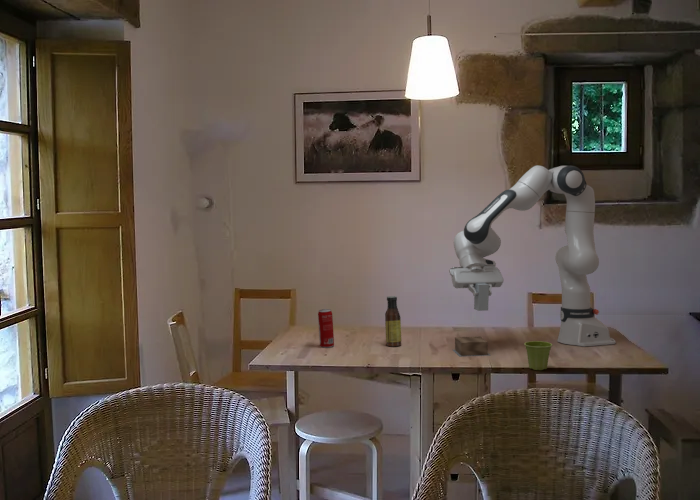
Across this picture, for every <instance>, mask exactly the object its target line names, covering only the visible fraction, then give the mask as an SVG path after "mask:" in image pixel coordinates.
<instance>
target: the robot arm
mask: <svg viewBox="0 0 700 500" xmlns="http://www.w3.org/2000/svg"><path fill="white" fill-rule="evenodd" d="M546 192H549V193H552V194H561V195H564V196H565V199H566V200H565V201H566V208H565V219H564V233H565V234H566V240H567V245H565V246H562V247H560V248H559V249H558V250H557V251H556V252H555V262H556V265H557V267H558V275H559V277H560V284H561V306H560V314H559V317H560V327H559V333H558V337H557V340H556V341H557V342H558V343H561V344H565V345H571V346H578V347H593V346H595V347H596V346H605V345H607V346H608V345H615V344H616V340H615V339H614V338H613V337H610V335H611V334H610V329H609V328H608V326H607V325H606V324H604V322H602V321H600V320H599V319H598V318H597V317H595V316H598V315H599V309H596V308H595V309H594V308H593V307H591V286H590V285H589V282H588V278H587V275H590V274H593V273H594V272H596V271H597V270H598V269H599V265H600V258H599V256H598V254H597V250H596V246H595V245H596V243H595V236H594V233H595V232H594V226H595V225H594V224H595V215H596V198H595V190H594V187H592V186H590V185H588V184H587V182H586V177H585V175H584V173H583V171H582V170H581V169H580V168H579V167H577V166H575V165H560V166H556V167H555V166H554V167H550V168H546V166H543V165H537V164H536V165H533V166H532V167H530V169H529V170H527V171H526V172H525V173H524V174H523V175H522V176H521V177H520V178H519V179H518V181H516V183H515V184H514V185H513V186H512V187H510V188H509V189H505V190H504V191H502V192H501V193H499V195H497V196H496V197H495V198H494V199H493V200H492V201H491V202H489V204H488V205H487V206H485V208H483V209H482V210H481V211H480V212H479V213H478V214H476V215H475V216H474V217H472V218H471V219H469V220H468V221H466V224H465V226H464V228H463V230H462V231H459V232H458V233H457V234H456V235H455V236H454V238H453V248H454V252H455V254H456V257H457V259H458V261H459V266H452V267H451V268H450V269H449V270H448V271H449V275H450V276H451V283H452V287H454V289H467V290H468V291H469V292H471V293H472V294H473V297H474V296H478V295H479V293H478V290H475V284H480V283H486V284H489V297H490V296H492V294H493V293H492V288H500V287H502V286H503V283H504V277H503V274H502V272H501V270H500V268H498V267H497V263H496V261H494V260H492V259H491V260H490V259H487V258H485V257H489V256H491V255H493V254H495V253H497V252H498V250H499V248H500V247H501V243H502V240H501V238H500V236H499V235H498V234H497V232H496V231H495V230H494V229H493V228H492V224H493V223H494V222H495V221H496V220H497V219H498V218H499V217H500V216H501V215H502V214H503V213H504V212H505V211H506V210H509V209H513V210H517V211H521V212H522V211H524V212H525V211H528V210H531V209H532V208H533V207H534V206H535V205H536V204H537V202H538V201H539V200H540V199H541V198H542V196H543V195H544V194H545V193H546Z"/></svg>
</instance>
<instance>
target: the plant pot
mask: <svg viewBox="0 0 700 500" xmlns="http://www.w3.org/2000/svg"><path fill="white" fill-rule="evenodd" d="M524 346H525V349H526V354H527V355H526V356H527V362H528V368H529V370H530V369H532V370H534V371H544V370H547V369H548V364H549V357H550V351H551V350H552V349H551V348H552V347H553V343H551V342H548V341H542V340H540V341H539V340H537V341H536V340H532V341H526V342H524Z"/></svg>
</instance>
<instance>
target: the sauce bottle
mask: <svg viewBox="0 0 700 500" xmlns="http://www.w3.org/2000/svg"><path fill="white" fill-rule="evenodd" d="M386 301H387V308H386V311H385V313H384V315H385V320H384V321H385V322H384V323H385V326H384V327H385V342H386V346H388V347H393V348H394V347H400V346H402V327H401V326H402V323H401V322H402V321H401V320H402V319H401V314H400V311H399V309H398V297H397V295H391V296H386Z"/></svg>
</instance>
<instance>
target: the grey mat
mask: <svg viewBox="0 0 700 500" xmlns="http://www.w3.org/2000/svg"><path fill="white" fill-rule="evenodd" d="M452 351H453V353H455V354H456V355H457V356H458V357H463V358H464V357H465V358H466V356H461V355H460V354H459V353H458V352H457V351H456V350H455V349H452ZM485 356H487V357H490V356H492V355H491V354H490V353H488V355H472V356H471V357H485Z"/></svg>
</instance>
